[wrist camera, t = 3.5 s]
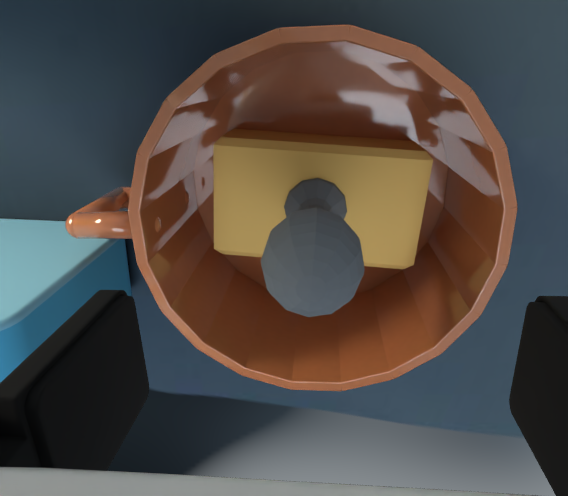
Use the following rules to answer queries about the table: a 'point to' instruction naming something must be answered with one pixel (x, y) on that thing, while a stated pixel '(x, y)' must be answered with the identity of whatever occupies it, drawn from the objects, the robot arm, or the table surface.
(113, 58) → the table surface
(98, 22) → the table surface
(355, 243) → the rubber stamp
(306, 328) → the terracotta mug
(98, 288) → the data package
